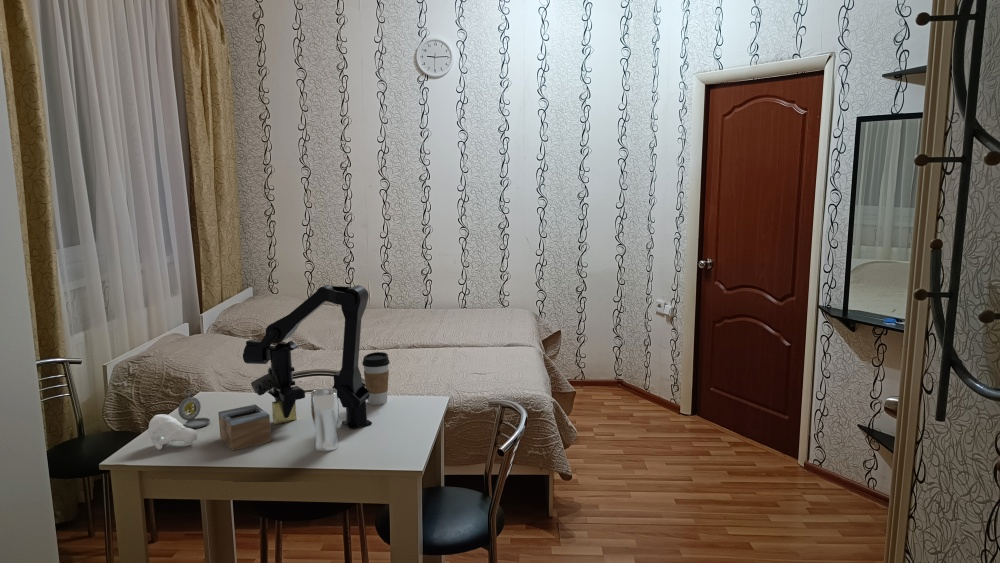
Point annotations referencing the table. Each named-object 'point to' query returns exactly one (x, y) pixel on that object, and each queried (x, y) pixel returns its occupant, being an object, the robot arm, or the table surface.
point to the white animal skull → (169, 431)
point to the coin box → (244, 426)
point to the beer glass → (325, 418)
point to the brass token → (279, 415)
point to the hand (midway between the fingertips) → (284, 416)
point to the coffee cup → (376, 376)
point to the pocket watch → (187, 406)
